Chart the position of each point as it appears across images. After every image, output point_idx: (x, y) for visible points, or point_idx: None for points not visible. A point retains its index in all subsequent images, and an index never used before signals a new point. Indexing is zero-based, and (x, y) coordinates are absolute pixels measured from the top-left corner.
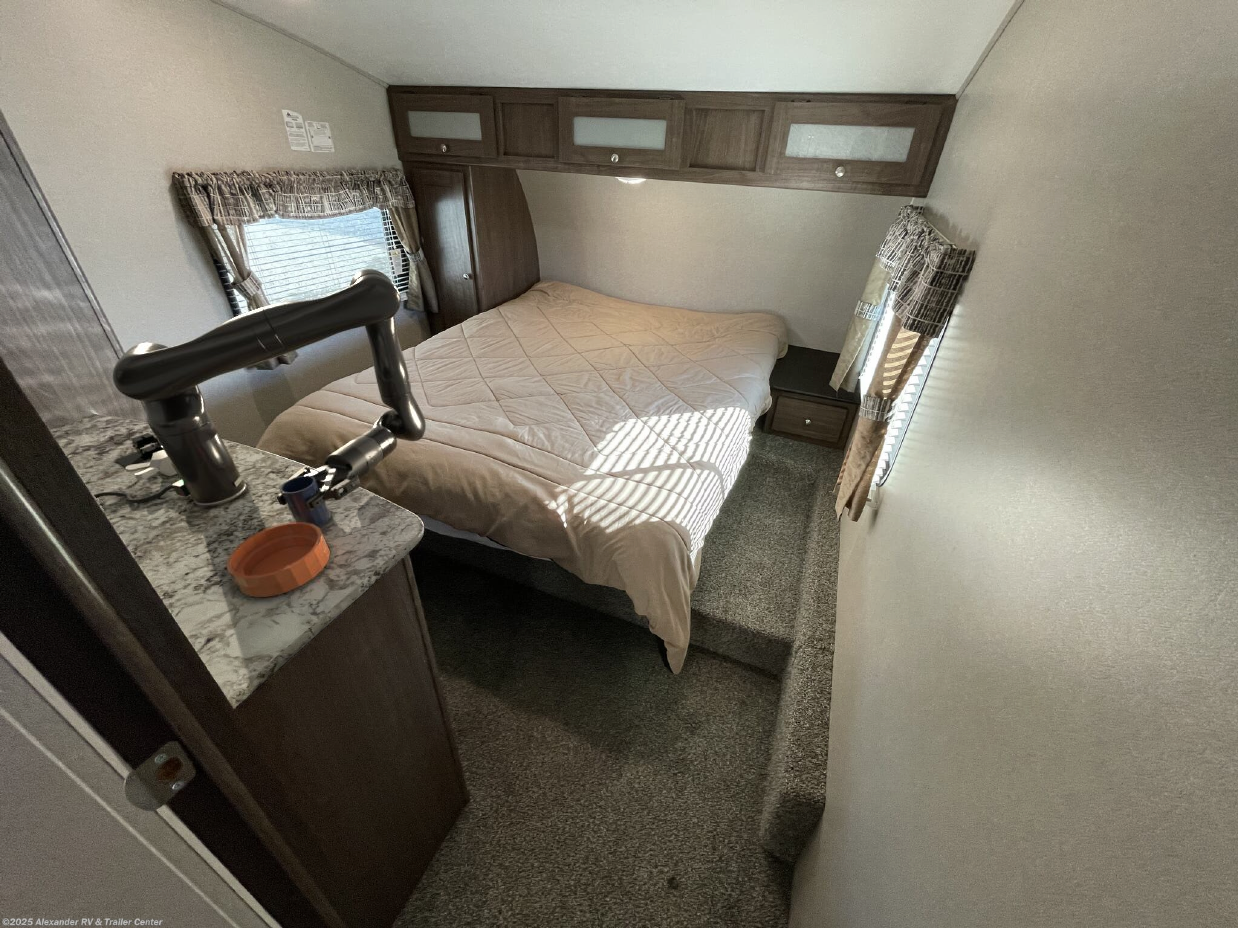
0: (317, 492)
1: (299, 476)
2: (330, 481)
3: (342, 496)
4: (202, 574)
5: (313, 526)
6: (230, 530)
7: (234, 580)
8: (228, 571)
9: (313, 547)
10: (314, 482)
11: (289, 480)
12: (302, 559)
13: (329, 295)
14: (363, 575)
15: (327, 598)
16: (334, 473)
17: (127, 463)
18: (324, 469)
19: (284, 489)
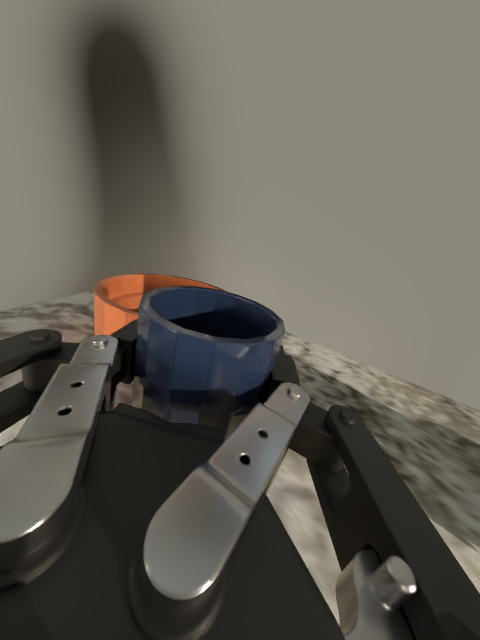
0: (133, 336)
1: (256, 341)
2: (62, 365)
3: (16, 389)
4: (286, 346)
5: (121, 307)
6: (371, 422)
7: None
8: (216, 287)
9: (106, 281)
10: (140, 301)
11: (277, 329)
12: (119, 275)
13: None
14: (25, 310)
15: (88, 300)
16: (10, 443)
17: None
18: (153, 517)
19: (263, 326)
